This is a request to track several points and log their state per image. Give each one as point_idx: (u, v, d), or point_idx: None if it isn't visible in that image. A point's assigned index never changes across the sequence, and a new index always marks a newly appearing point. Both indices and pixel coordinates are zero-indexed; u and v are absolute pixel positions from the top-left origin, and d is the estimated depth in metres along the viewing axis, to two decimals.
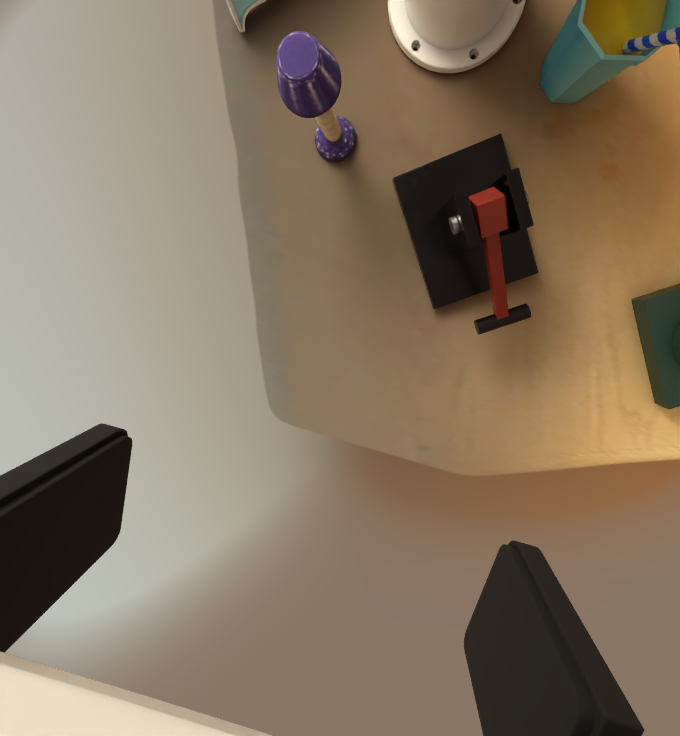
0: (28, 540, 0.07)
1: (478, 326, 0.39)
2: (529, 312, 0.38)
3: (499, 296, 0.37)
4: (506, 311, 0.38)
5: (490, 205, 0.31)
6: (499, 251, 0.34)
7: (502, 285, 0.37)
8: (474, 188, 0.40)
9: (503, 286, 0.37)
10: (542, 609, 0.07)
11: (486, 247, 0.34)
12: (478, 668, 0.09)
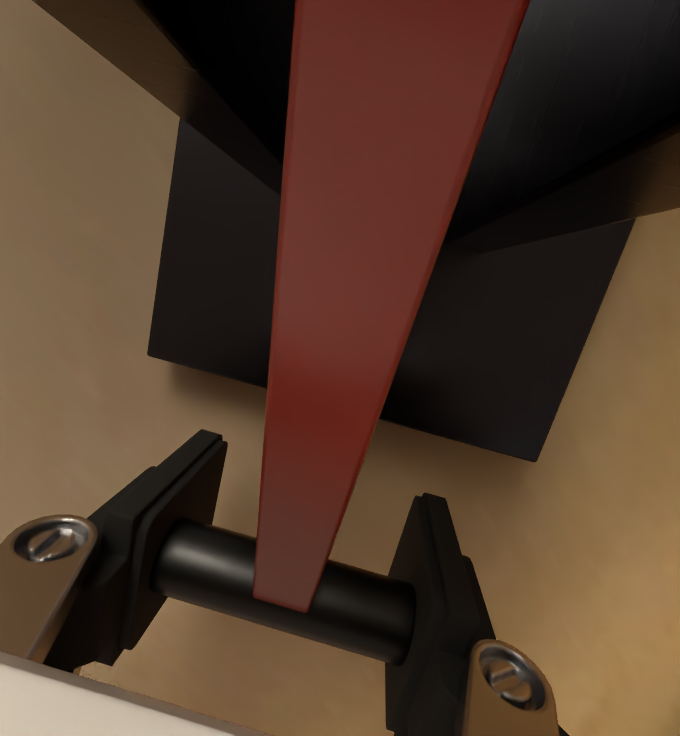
0: (167, 533, 0.08)
1: (156, 569, 0.08)
2: (400, 656, 0.07)
3: (285, 543, 0.06)
4: (301, 599, 0.07)
5: None
6: (405, 278, 0.03)
7: (321, 515, 0.05)
8: None
9: (325, 522, 0.05)
10: (430, 541, 0.08)
11: None
12: None
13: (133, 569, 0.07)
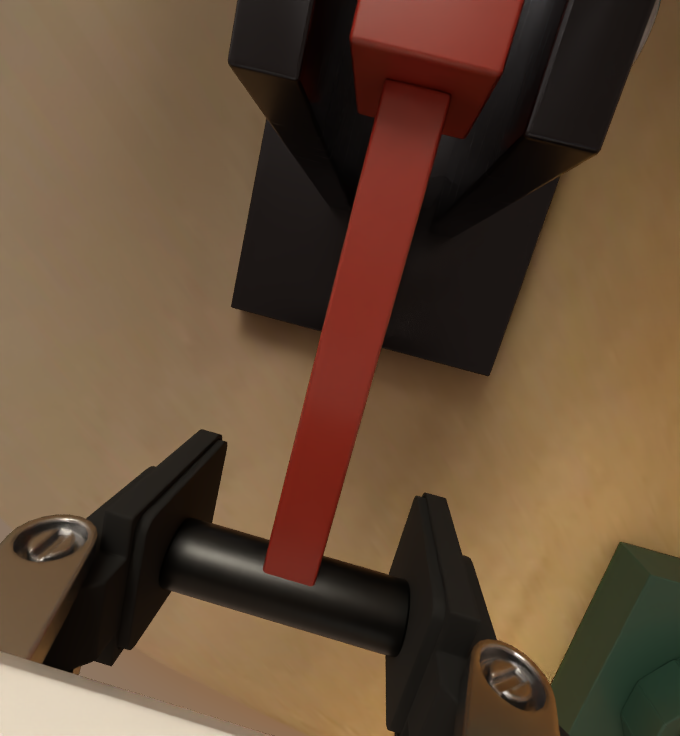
0: (167, 534, 0.08)
1: (172, 547, 0.08)
2: (400, 631, 0.08)
3: (312, 463, 0.08)
4: (311, 558, 0.08)
5: None
6: (405, 227, 0.07)
7: (346, 417, 0.07)
8: None
9: (348, 425, 0.07)
10: (430, 541, 0.08)
11: None
12: None
13: (133, 569, 0.07)
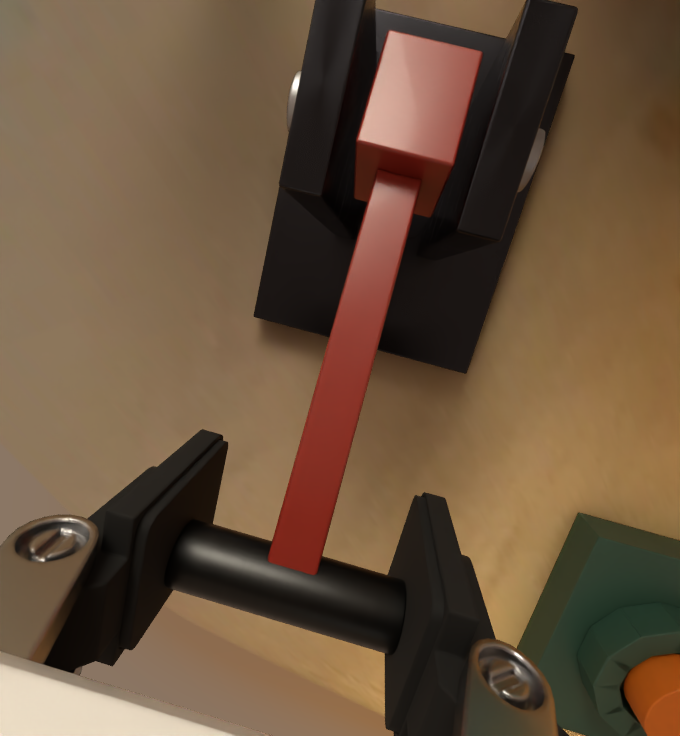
0: (168, 533, 0.08)
1: (181, 538, 0.09)
2: (399, 618, 0.08)
3: (319, 449, 0.09)
4: (315, 544, 0.09)
5: (428, 52, 0.09)
6: (393, 261, 0.09)
7: (349, 406, 0.09)
8: None
9: (350, 413, 0.09)
10: (429, 541, 0.08)
11: None
12: None
13: (134, 569, 0.07)
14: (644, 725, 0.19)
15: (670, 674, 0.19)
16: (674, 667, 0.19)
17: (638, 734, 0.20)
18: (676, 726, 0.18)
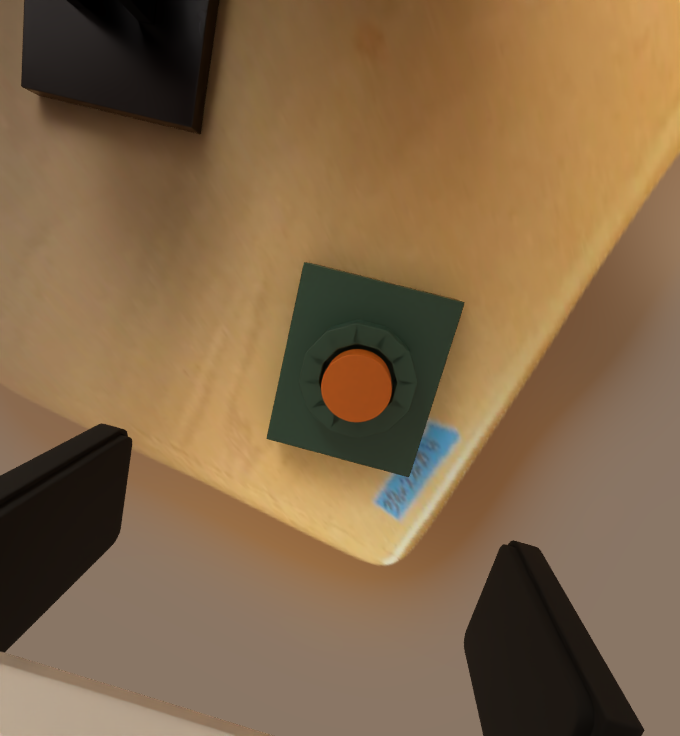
0: (28, 540, 0.07)
1: None
2: None
3: None
4: None
5: None
6: None
7: None
8: None
9: None
10: (542, 609, 0.07)
11: None
12: (478, 667, 0.09)
13: None
14: (322, 395, 0.23)
15: (343, 354, 0.23)
16: (349, 351, 0.23)
17: (339, 425, 0.25)
18: (344, 392, 0.23)
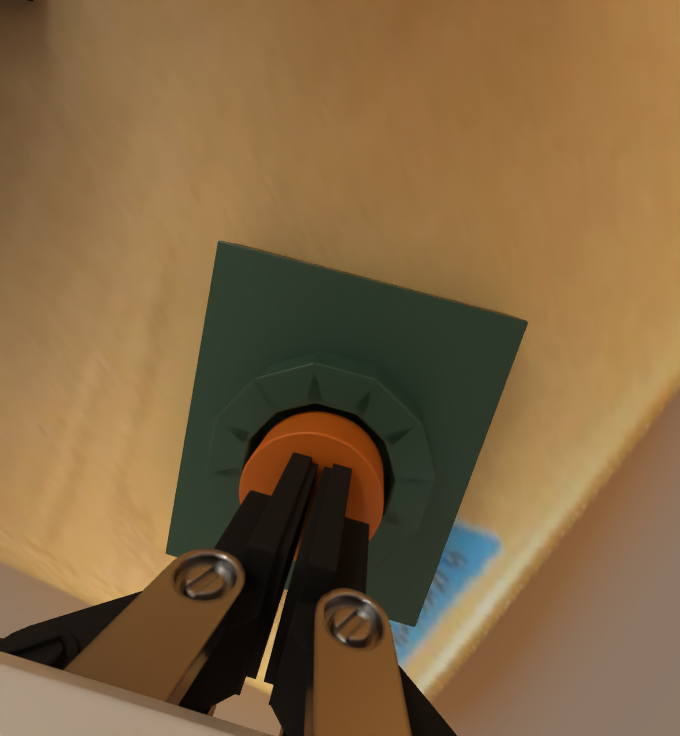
0: (287, 562, 0.08)
1: None
2: None
3: None
4: None
5: None
6: None
7: None
8: None
9: None
10: (318, 504, 0.09)
11: None
12: None
13: (268, 601, 0.07)
14: None
15: (285, 427, 0.11)
16: (298, 419, 0.12)
17: None
18: None
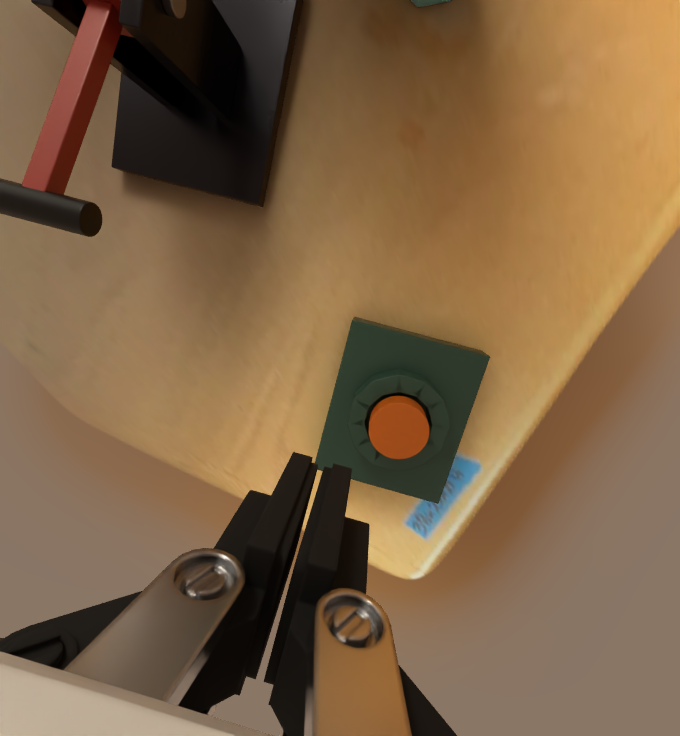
0: (287, 562, 0.08)
1: None
2: (80, 206, 0.17)
3: (49, 133, 0.17)
4: (44, 177, 0.17)
5: None
6: (94, 44, 0.18)
7: (66, 113, 0.17)
8: (233, 28, 0.26)
9: (67, 117, 0.17)
10: (318, 504, 0.09)
11: None
12: None
13: (268, 601, 0.07)
14: (369, 436, 0.27)
15: (387, 401, 0.27)
16: (392, 398, 0.27)
17: (381, 459, 0.29)
18: (388, 434, 0.27)
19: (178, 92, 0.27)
